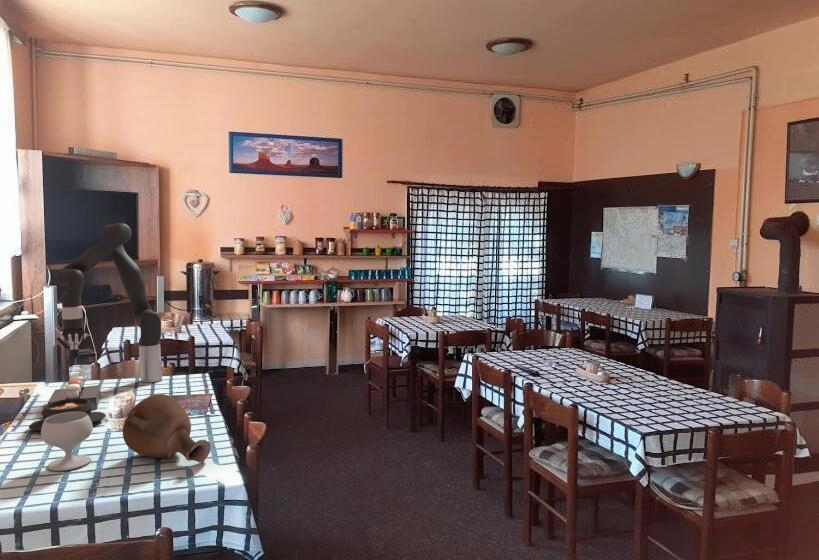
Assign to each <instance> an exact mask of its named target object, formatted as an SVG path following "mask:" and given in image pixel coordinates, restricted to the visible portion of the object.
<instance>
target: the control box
mask: <svg viewBox="0 0 819 560" xmlns="http://www.w3.org/2000/svg"><path fill="white" fill-rule="evenodd" d="M82 387H83V390H81V394H79V398H83V399H88V400H90V402H91V404H92V405H93V408H92V409H91V411H93V410H95V411H96V410H98V407H99V404H100V401H101V397H102V390H101V385H100V384H97V385H89V386H82ZM64 399H67V390H66V389H65V388H59V389H54V390H53V393H52V394H51V396H50V398H49V399H48V401H47V404H49V403H52V402H55V401H59V400H64Z"/></svg>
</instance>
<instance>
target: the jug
mask: <svg viewBox="0 0 819 560" xmlns="http://www.w3.org/2000/svg"><path fill="white" fill-rule="evenodd" d="M191 431H192V421H191V419H190V417H189V415H188V413H187V411H186V410H185V409H184V408H183V405H182V404H180V403H179V401H177V400H176V399H174V397H172V396H170V395H168V394H164V393H156V394H152V395H150V396H147V397H145V398H143V399H142V400H140V401H139V402H138V403H137V404H135V406H134V407H132V408H131V410H130V411H129V412H128V414H127V416H126V418H125V420H124V423H123V427H122V437H123V438H122V439H123V441H124V443H125V444H126V446H127V447H128V448H129V449H130V450H131V451H133V452H134V453H136V454H138V455H141V456H143V457H147V458H155V459H157V458H158V459H159V458H160V459H161V458H168V459H169V458H171V456H173V455H175V454H177V453H180V454H181V455H182V456H183V457H184V458H185V460H186V461H189V462H192V461H195V462H198V463H204V462H205V461H206V460H207V458H208V456H209V455H210V454H211V449H212V445H211V442H210V441H208V440H207V439H200V440H197V441H195V440H193V439H192V438H191Z"/></svg>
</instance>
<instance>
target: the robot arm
mask: <svg viewBox="0 0 819 560" xmlns="http://www.w3.org/2000/svg"><path fill="white" fill-rule="evenodd" d="M101 234H102V235H101V236H102V239H103V240H102V241H100V242H99V243H97V244H95V245H93V246H92V247H90V248H88V249H87V250H86V251H84V253H82V254H81V255H80V256H79V257H78V258H77V259H75V260H74V261H72V262H71V263H69V264H67V265H65V266H64V267H61V269H60V270H59V271H58V272H57V274H56V275H55V280H56V282H57V284H58V285H60V286H63V287H68V288H67V289H68V290H67V291H66V292H63V293H62V294H61V308H62V309H61V319H62V320H61V321H62V332H61V335H60V336H57V338H56V341H57V342H58V343H59V344H60V345H62V347H63V348H64V349H66V350H70V357H71V358H72V359H73V360H74V359H78V357H80V351H79V350H80V349H82V348H83V347H84V346H85V344H86V343H87V342H88V341H89V339H90V338H91V334H88V333H86V331H85V329H84V316H83V315H84V314H83V308H82V298H81V297H82V293H83V288H84V284H85V277H84V275H85V274H88V273H90V272H91V271H92V270H93V269H94V268H95V267H97V265H98V264H99V263H100V262H101V261H104V259H105V258H106V257H108V255H111V257H112V260H113V263H114V265H115V267H116V270H117V272H118V276H119V278H120V281H121V284H122V287H123V289H124V291H125V293H126V296H127V298H128V300H129V302H130V305H131V307H132V309H131V310H132V312H133V316H134V319H135V320H134V321H135V323H136V325H137V327H139V328H140V329H139V330H140V337H139V339H138V351H139V353H138V355H139V368H140V369H139V370H140V371H139V372H140V382H141V383H145V384H146V383H155V382H156V383H157V382H160V381H163V371H162V369H163V368H162V357H161V355H162V353H161V338H162V320H161V316H160V315H159V313H158V312H156V311H153V310H152V308H151V306H150V304H149V302H148V299H147V291H146V284H145V280H144V277H143V273H142V271H141V268H140V267H139V266H138V264H137V263H136V262H135V261H134V260H133V259H132V258H131V257H130V256H129V255H128V254H127V252H126V250H125V247H124V244H127V242H128V241H129V240H131V238H132V229H131V227H130V226H129V225H128V224H126V223H123V222H118V223H113V224H108V225H105V226H104V227H103V228H102V231H101ZM82 338H83V339H84V340H82V342H81V343H80V341H81V339H82ZM64 339H65V340H66V341H67V342H68V343H67V342H66V341H65V340H64Z"/></svg>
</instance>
